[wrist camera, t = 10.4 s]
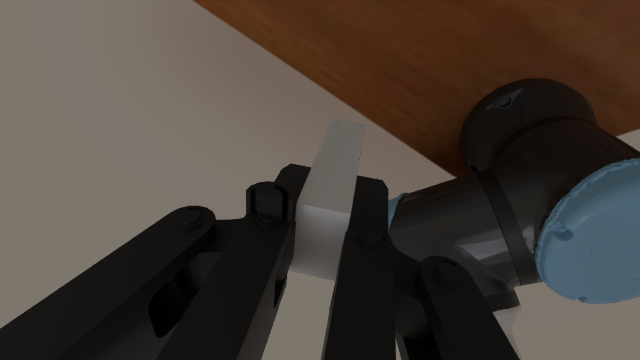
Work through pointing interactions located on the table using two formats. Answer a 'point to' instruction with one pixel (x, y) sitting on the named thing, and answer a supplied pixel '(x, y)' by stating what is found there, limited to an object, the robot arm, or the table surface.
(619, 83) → the table surface
